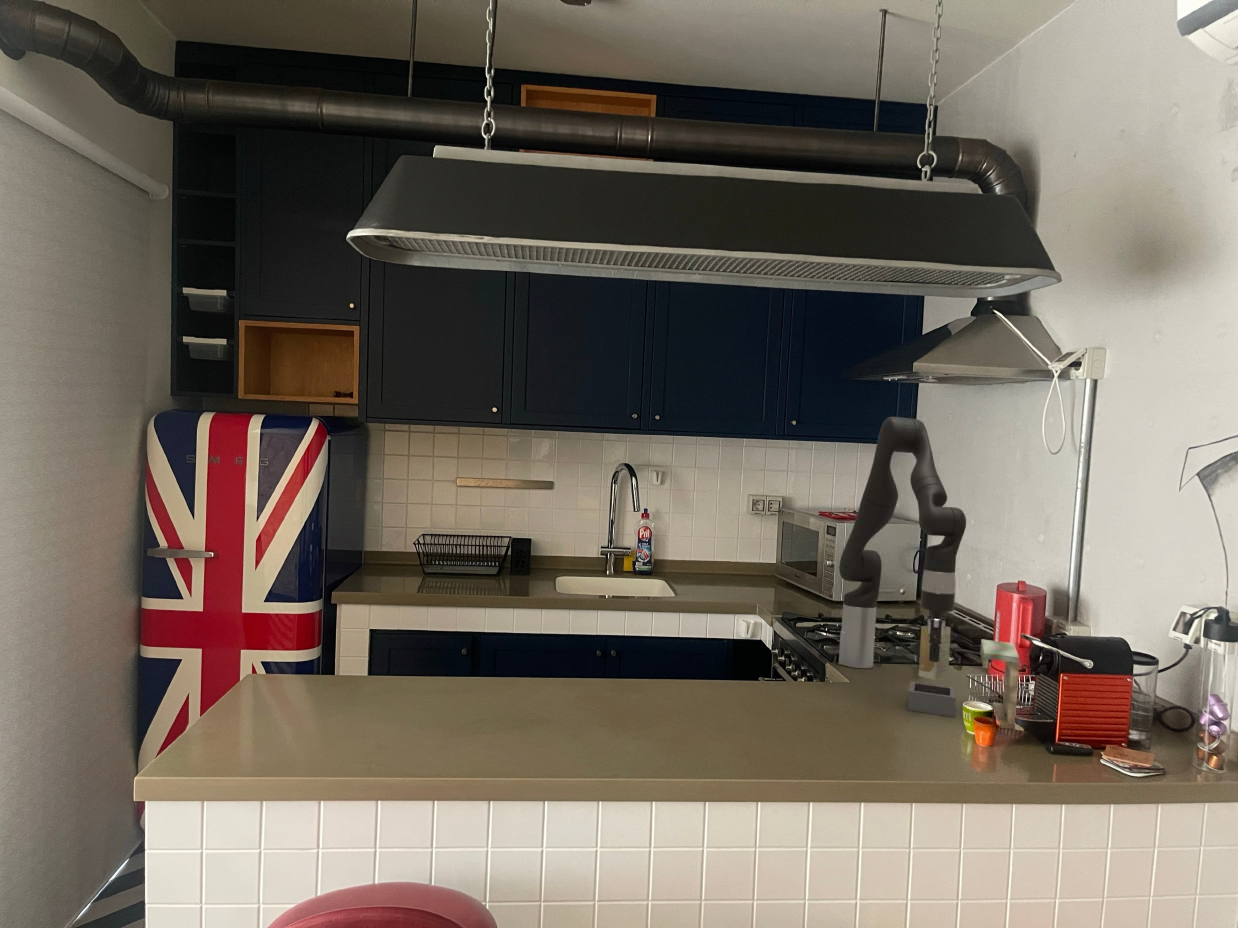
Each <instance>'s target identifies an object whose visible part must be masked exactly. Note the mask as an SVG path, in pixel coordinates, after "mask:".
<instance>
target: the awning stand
mask: <svg viewBox="0 0 1238 928" xmlns="http://www.w3.org/2000/svg"><path fill="white" fill-rule="evenodd" d="M979 654H980V657H981V665H982V669H988V670H989V660H993V661H994V660H995V661H1002V662H1004V663H1005V664H1004V665H1005V666H1004V678H1003V679H1004V680H1003V696H1002V703H1000V702H995V701H994V702H992V708H993V707H994V708H995V710H996V711H997V718H998V719H999V720H1000V723H1001V727H1000V728H1001V729H1002V728H1003V729H1008V730H1009V729H1010V730H1015V731H1021V732H1022V731H1024V729H1023V728H1022V727H1020V726H1019V725H1017V724H1016V723H1015V717H1016V708H1021V707H1020V705H1017V698H1018V697H1017V696H1018V682H1019V665H1020V657H1019V653H1018V651H1017V649H1016V646H1015V644H1014V642H1008V641H1007V642H1006V641H1000V640H991V639H990V640H989V639H984V638H983V639H980V653H979ZM1005 713H1006V716H1005ZM1024 732H1025V731H1024Z"/></svg>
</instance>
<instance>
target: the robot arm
mask: <svg viewBox="0 0 1238 928" xmlns="http://www.w3.org/2000/svg"><path fill="white" fill-rule="evenodd" d="M875 446H876V448H875V451H874V452H875V453H874V456H873V462H872V464H871V468H870V473H869V475H868V479H867V482H866V485H865V488H864V491H863V493H862V497H861V498H860V499H861V500H860V504H859V508H858V510H857V514H856V517H855V520H854V524H853V526H852V528H851V532H850V534H849V537H848V539H847V541H846V543H845V545H844V548H843V551H842V553H841V557H840V561H839V564H838V565H839V567H838V569H839V575H840V577H841V579H843V580H844V581H847V582H853V583H854V582H857V583H860V585H859V586H858V587H856V589H854V590H852V591H849V592H846V593H845V594H844V595H843V600H842V601H843V602H842V603H843V604H842V618H841V631H840V637H839V654H838V665H841V666H846V667H849V668H856V669H871V668H873V666H874V652H875V651H874V650H875V634H876V620H877V618H876V617H877V604H878V600H879V596H880V586H881V579H882V565H883V564H882V558H881V555H880V553H879V552H878V551H876V550H872V549H865V547H866V546H867V544H868V543H869V542H870V540H871V539H873V538H874V536H876V534H878V533H879V532H880V531H881V530H883V528H884V527H885V526H886V525H887V524H888V523H889V522H890V521H891V520H892V517H893V515H894V512H895V509H896V507H897V504H898V500H899V491H898V487H897V484H896V482H895V479H894V477H893V474H892V470H891V469H892V468H891V463H892V457H893V455H894V453H895V452H896V453H905V454H906V453H907V454H912V455H913V456H914V457H915V459H916V462H915V464H914V467H913V469H912V472H911V474H910V479H909V480H910V486H911V489H912V491H913V493H914V497H915V498H916V502H917V506H918V524H919V528H920V530H921V531H922V532H923V533H924V534H926V535H928V536H935V537H939V536H940V537H943V539H942V541H941V542H940V543H939V544H935V545H930V546H929V545H928V546H927V547H926V549H925V552H924V564H923V565H924V567H923V575H922V581H921V597H920V607H921V608H922V609H924V610H927V611H931V612H930V614H931V615H928V616H927V625H928V636H930V640H929V643H930V653H929V660H930V661H933V662H938V661H939V653H940V645H941V638H942V637H943V632H944V627H945V626H946V617H943V615H944V614H943V613H951V612H953V611H955V601H956V585H957V583H956V567H957V566H956V565H957V564H956V561H957V553H958V552H959V549H960V545H961V542H962V540H963V537H964V534H965V532H966V528H967V517H966V514H965V513H964V511H963V510H962V509H961V508H959V507H954V506H953V507H952V506H945V504H946V503H947V501H948V495H947V491H946V490H945V488H944V485H943V482H942V480H941V479H940V475H939V474H938V471H937V468H936V466H935V465H936V464H935V460H934V456H933V450H932V446H931V441H930V437H929V434H928V431H927V427H926V426H925V423H924V422H923V421H922V420H920V419H916V418H909V417H901V416H900V417H899V416H889V417H887V418H886V419H885V420H883V422H882V424H881V426H880V430H879V434H878V437H877V441H876V445H875ZM935 628H936V629H935ZM935 635H936V636H938V638H939V639H932V636H935Z"/></svg>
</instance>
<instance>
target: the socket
mask: <svg viewBox="0 0 1238 928" xmlns="http://www.w3.org/2000/svg"><path fill="white" fill-rule="evenodd" d="M956 691H957V690H956V687H953V686H944V685H939V684H937V685H936V684H930V683H924V682H922V683H921V682H918V681H917V682H916V681H909V688H908V695H907V711H911V712H917V713H924V714H925V713H926V714H930V715H937V716H945V717H950V718H955V716H956V715H955V714H956V702H957V701H956V699H957V698H956V697H957V696H956V694H957V693H956Z"/></svg>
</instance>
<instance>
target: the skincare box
mask: <svg viewBox="0 0 1238 928" xmlns="http://www.w3.org/2000/svg"><path fill="white" fill-rule="evenodd" d="M935 629H936V628H935ZM951 629H952V627H951V626H946V625H945V627H944V632H943V637H942V638H941V645H940V653H939V661H938V662H933V661H930V660H929V653H930V643H929V640H930V636H928V624H927V625H921V628H920V646H919V664H918V665H919V666H918V676H919V677H922V678H925V679H929V680H933V681H935V680H936V681H937V680H939V679H940V680H941V679H944V678H948V677H949V662H950V647H951V645H950V644H951V631H952V630H951ZM932 639H939V638H938V636H936V635H935V636H932Z"/></svg>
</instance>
